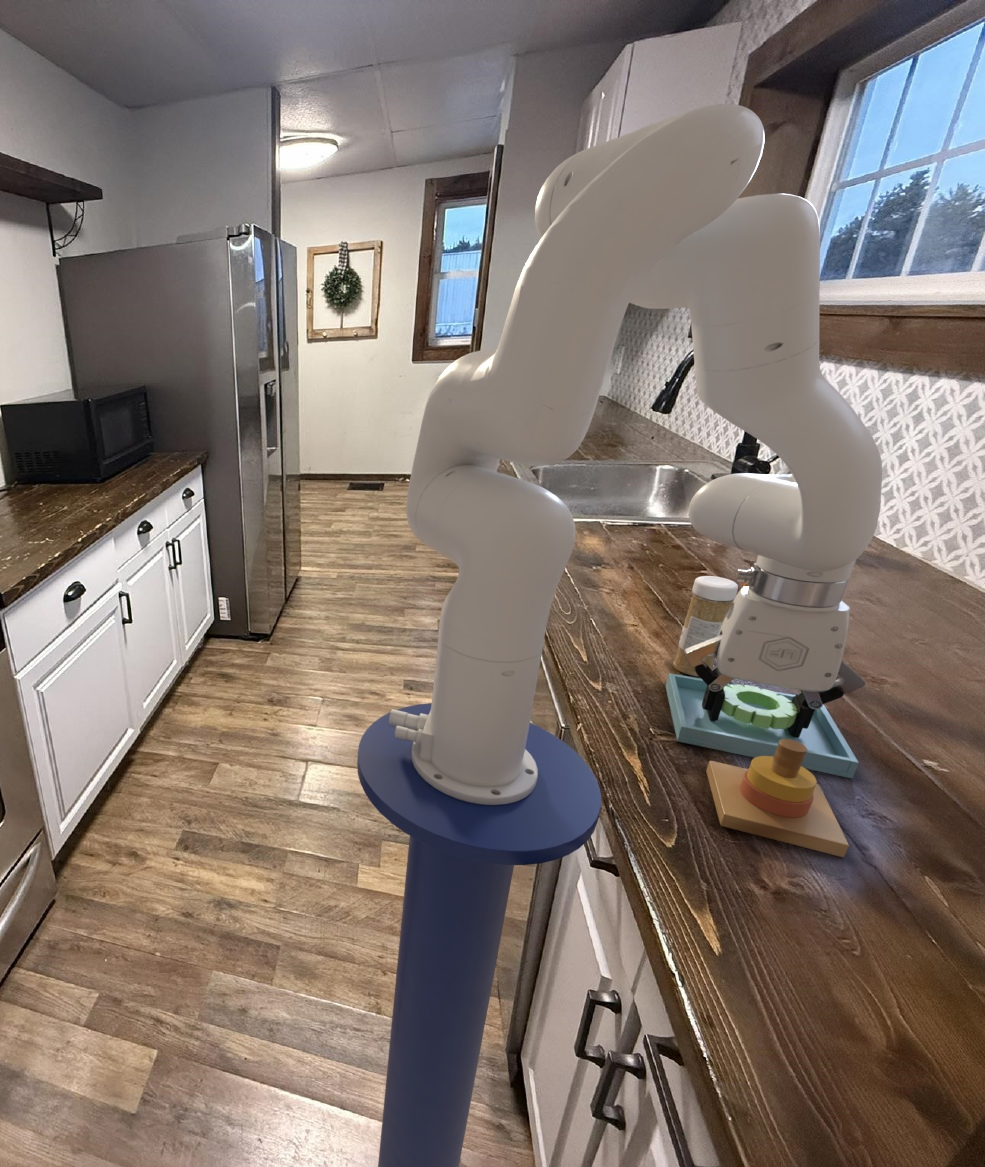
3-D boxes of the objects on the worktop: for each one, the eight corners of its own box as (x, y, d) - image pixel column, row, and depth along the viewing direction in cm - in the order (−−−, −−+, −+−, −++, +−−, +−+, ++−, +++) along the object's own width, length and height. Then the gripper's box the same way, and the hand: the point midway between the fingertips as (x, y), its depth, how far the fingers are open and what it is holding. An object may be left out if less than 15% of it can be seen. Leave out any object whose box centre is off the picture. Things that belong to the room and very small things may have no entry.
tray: (677, 741, 73) (681, 726, 72) (665, 686, 84) (669, 673, 83) (852, 778, 66) (859, 762, 65) (815, 713, 77) (821, 699, 76)
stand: (720, 826, 61) (742, 759, 58) (705, 771, 68) (725, 709, 65) (844, 858, 57) (875, 788, 54) (814, 796, 64) (841, 731, 61)
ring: (722, 720, 73) (725, 708, 72) (712, 690, 78) (715, 679, 78) (801, 735, 70) (805, 723, 69) (784, 703, 75) (788, 691, 75)
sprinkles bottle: (681, 658, 90) (704, 572, 85) (718, 671, 86) (745, 582, 81) (665, 668, 88) (688, 580, 83) (703, 682, 84) (729, 590, 79)
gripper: (701, 587, 69) (665, 721, 76) (922, 612, 61) (860, 760, 68) (692, 564, 75) (659, 691, 82) (892, 584, 67) (837, 723, 74)
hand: (750, 721), depth 75 cm, fingers closed on ring, 6 cm apart
